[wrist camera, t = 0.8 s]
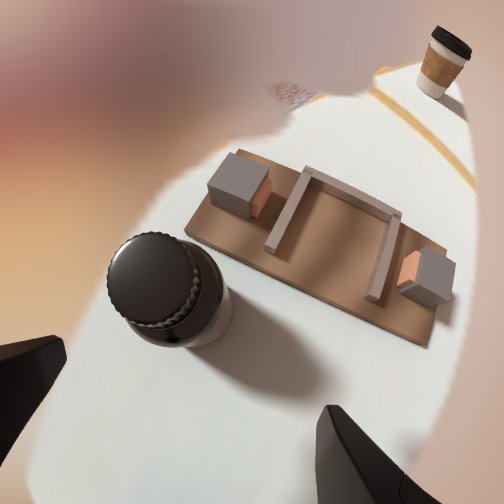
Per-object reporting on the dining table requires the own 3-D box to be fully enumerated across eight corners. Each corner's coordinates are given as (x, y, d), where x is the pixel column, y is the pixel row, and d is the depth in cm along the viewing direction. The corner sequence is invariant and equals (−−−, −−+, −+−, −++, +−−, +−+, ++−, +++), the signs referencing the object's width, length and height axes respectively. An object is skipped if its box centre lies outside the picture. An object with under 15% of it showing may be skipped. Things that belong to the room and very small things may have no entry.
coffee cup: (405, 73, 39) (427, 18, 25) (435, 84, 39) (460, 36, 25) (419, 96, 36) (449, 37, 22) (451, 108, 36) (482, 57, 22)
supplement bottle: (155, 279, 24) (91, 224, 13) (225, 267, 25) (208, 198, 14) (164, 352, 22) (94, 351, 11) (239, 341, 23) (230, 335, 11)
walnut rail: (186, 234, 26) (175, 212, 22) (239, 155, 29) (238, 126, 25) (419, 345, 22) (447, 341, 18) (441, 253, 26) (465, 237, 21)
